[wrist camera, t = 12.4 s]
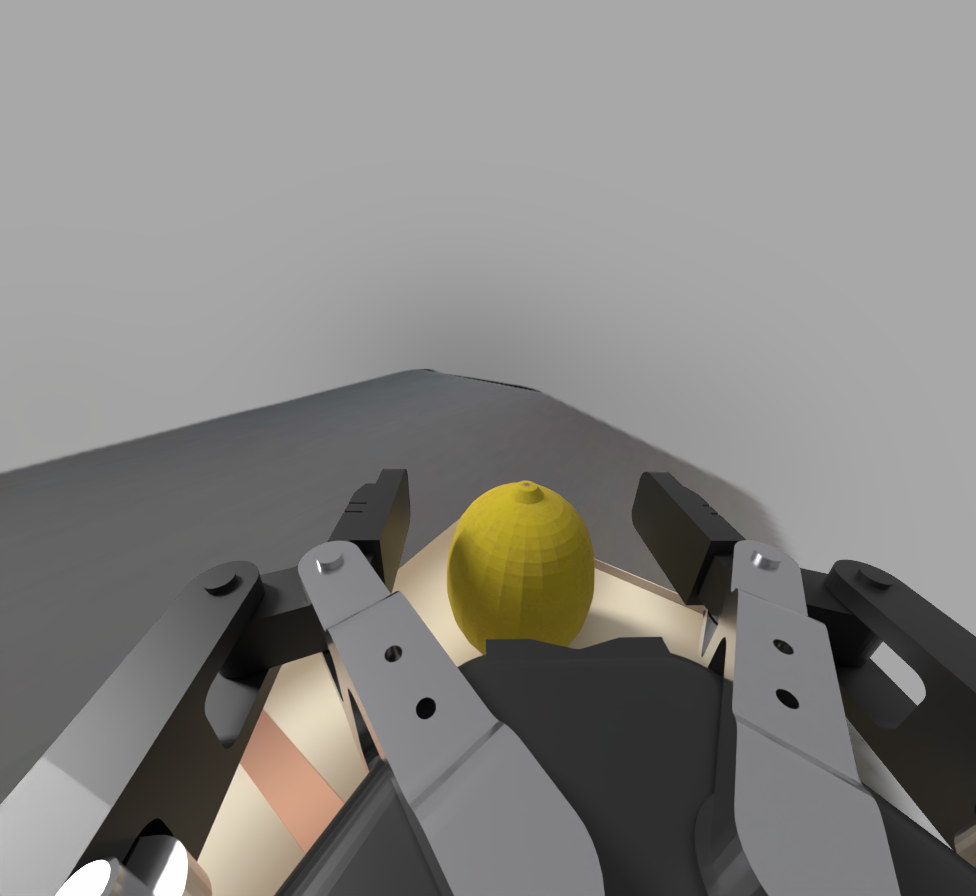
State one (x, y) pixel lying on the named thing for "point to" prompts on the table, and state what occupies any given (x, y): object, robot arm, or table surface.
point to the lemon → (520, 567)
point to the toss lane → (328, 738)
